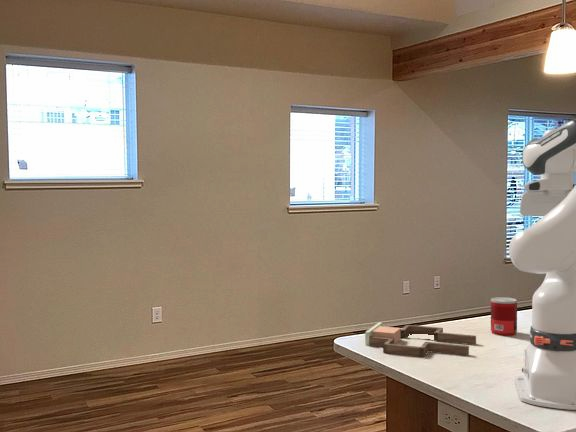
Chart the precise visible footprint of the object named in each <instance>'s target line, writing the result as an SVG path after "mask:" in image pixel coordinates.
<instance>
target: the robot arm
mask: <svg viewBox="0 0 576 432" xmlns="http://www.w3.org/2000/svg"><path fill="white" fill-rule="evenodd" d="M521 154H522V155H521V159H522V164H523V167H524V168H525V169H526V170H527V171H528V172H530V174H532V175H534V176H537V175H538V176H539V175H540V179H535V180H533V181H531V182H527V183H526V184H524V190H525V191H524V192H523V193H522V195H521V199H520V203H519V213H520V215H521V216H522V217H528V216H529V217H530V216H531V217H534V216H535V217H541V216H542V217H541V218H540V219H538V220H537V221H536V222H535V223H533V224H532V225H530V226H528V227H527V228H525V229H522V230H521V231H519V232H517V233H516V234H514V235H513V237H512V238H511V239H510V242H509V247H508V255H509V258H510V261H511V263H512V264H513V266H514V267H515V268H516V269H518V270H519V271H521V272H524V273H529V274H537V275H543V274H545V276H544V279H543V282H542V283H541V285H539V287H538V288H537V289H536V290H535V291H534V293H533V295H532V299H531V300H532V301H531V302H532V305H531V306H532V307H531V308H532V310H531V311H532V312H531V314H532V316H531V317H532V319H531V320H532V321H531V326H530V329H529V330H530V331H529V345H527V346H526V347H525V348H524V351H523V352H524V353H523V355H524V357H523V358H524V359H523V362H524V363H523V367H522V368H521V372H522V374H523V375H518V376H515V379H514V382H515V386H516V388H517V392H518V397H519V400H520V401H521V402H523V403H526V404H528V405H529V404H530V405H534V406H538V407H544V408H550V409H559V410H560V409H561V410H570V411H571V410H573V411H576V183H574V174H576V118H573V119H572V120H571V119H570V120H569V121H567V122H565V123H563V124H561V125H560V126H558V127H555V128H550V129H548V130H546V131H544V132H543V135H542V137H541V138H535V137H534V138H532V139H531V140H529V141H528V142H527V143H526V145H525V146H524V148H523V150H522V153H521Z"/></svg>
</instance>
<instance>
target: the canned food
mask: <svg viewBox="0 0 576 432" xmlns="http://www.w3.org/2000/svg"><path fill="white" fill-rule="evenodd" d="M490 331H491V333H492V334H493V335H496V336H501V335H503V336H506V337H509V336H511V337H512V336H514V335H515V336H516V334H517V331H518V300H517V299H516V298H514V297H513V298H512V297H502V296H498V297H497V296H496V297H492V298H490ZM503 336H502V337H503Z"/></svg>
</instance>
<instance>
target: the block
mask: <svg viewBox="0 0 576 432" xmlns="http://www.w3.org/2000/svg"><path fill="white" fill-rule="evenodd" d="M400 329H401V327H392V326H383V325H382V326H378V327H377V328H376V329H374V330H373V331H372V336H373V337H383V338H393V339H394V344H398V343H397V342H398V341H399V342H400V341H401V339H402V338H401V336H400Z"/></svg>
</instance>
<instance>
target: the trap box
mask: <svg viewBox="0 0 576 432" xmlns="http://www.w3.org/2000/svg"><path fill="white" fill-rule="evenodd" d="M378 326H383V322H381V321H380V322H379V321H378V322H377V323H375V324H374V325H373V326H372V327H370V328H369V329H367V330H366V331H365V332H364V333H365V336H364V337H365V339H364V340H365V341H364V342H365V343H364V344H365V346H373V347H382V352H383V354H393V355H402V356H411V357H418V356H421V357H420V358H424V357H425V356H426V355H427V354H428V353H429V352H428V351H432V352H431V353H438V352H441V353H440V354H448V353H449V355H457V354H458V356H469V355H470V346H469V345H472V344H475V345H477V335H473V334H472V335H471V334H462V333H461V334H460V333H449V332H444V328H443V327H437V326H425V325H414V324H413V325H412V324H405V325H404V326H403V327H401V328H400V336H401V339H402V338H403V339H408V338H407V337H408V336H409V334H410V335H412V334H428V335H434V340H437V341H436V342H435V341H432V342H431V341H425V342H424V343H423V344H422V345H421V346H414V345H407V344H398V343H396V344H394V339H393V338H383V337H373V336H372V331H373V330H374V329H376V328H377V327H378ZM441 341H448V342H447V343H445V342H444V343H442V342H441ZM452 342H457V343H456V344H454V343H452ZM462 343H467V344H465V345H464V344H463V345H462ZM475 345H474V346H475ZM427 352H428V353H427ZM426 353H427V354H426Z"/></svg>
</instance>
